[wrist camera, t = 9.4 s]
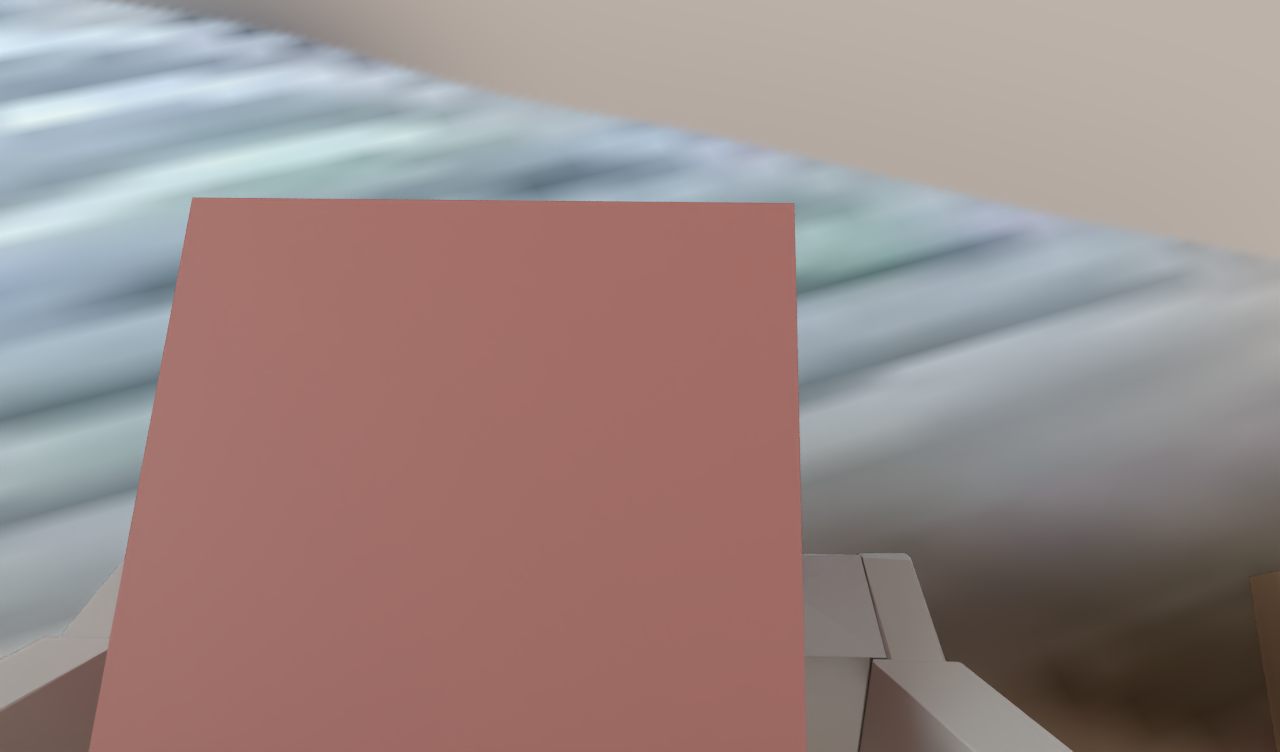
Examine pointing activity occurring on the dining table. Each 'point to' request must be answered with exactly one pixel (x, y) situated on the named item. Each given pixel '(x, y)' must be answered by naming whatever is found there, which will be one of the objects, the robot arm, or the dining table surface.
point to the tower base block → (1269, 638)
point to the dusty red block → (469, 484)
